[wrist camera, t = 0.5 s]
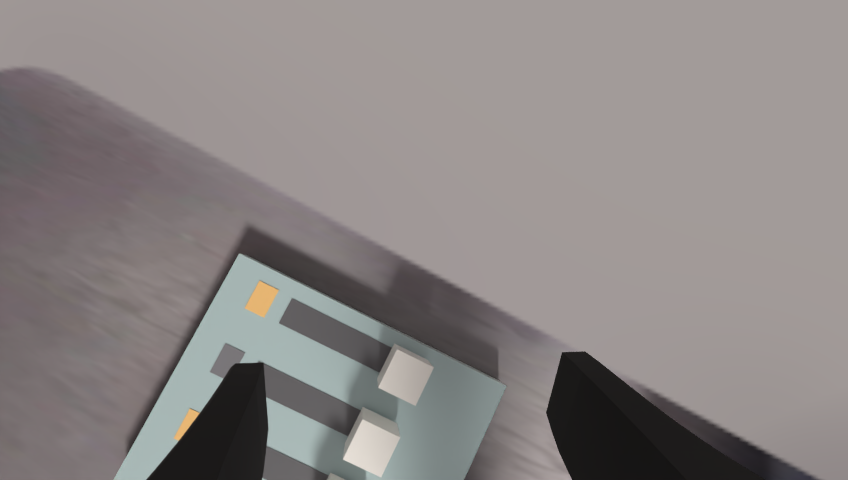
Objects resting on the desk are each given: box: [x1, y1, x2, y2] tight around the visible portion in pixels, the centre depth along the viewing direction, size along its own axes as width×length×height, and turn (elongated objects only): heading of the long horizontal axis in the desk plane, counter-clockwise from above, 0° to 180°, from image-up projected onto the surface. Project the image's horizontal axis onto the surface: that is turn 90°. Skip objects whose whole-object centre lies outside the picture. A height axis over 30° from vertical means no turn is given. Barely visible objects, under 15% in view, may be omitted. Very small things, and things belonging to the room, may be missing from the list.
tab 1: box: [343, 407, 400, 477], centre depth 30 cm, size 2×2×3 cm
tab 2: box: [377, 343, 434, 406], centre depth 31 cm, size 2×2×3 cm
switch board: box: [114, 253, 506, 480], centre depth 33 cm, size 20×16×2 cm
